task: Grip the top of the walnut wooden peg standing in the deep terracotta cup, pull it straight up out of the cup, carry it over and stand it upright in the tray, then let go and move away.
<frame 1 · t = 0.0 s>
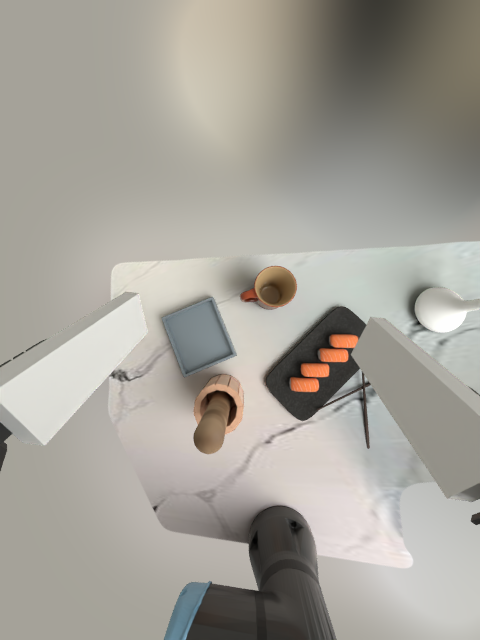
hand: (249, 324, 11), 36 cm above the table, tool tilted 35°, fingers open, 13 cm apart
tray: (200, 336, 46), on the table
peg: (223, 396, 44), point 1 cm above the table, touching cup
mug: (262, 298, 47), on the table
sushi plate: (341, 383, 45), on the table
cup: (223, 394, 45), on the table
flower in vase: (430, 307, 46), on the table
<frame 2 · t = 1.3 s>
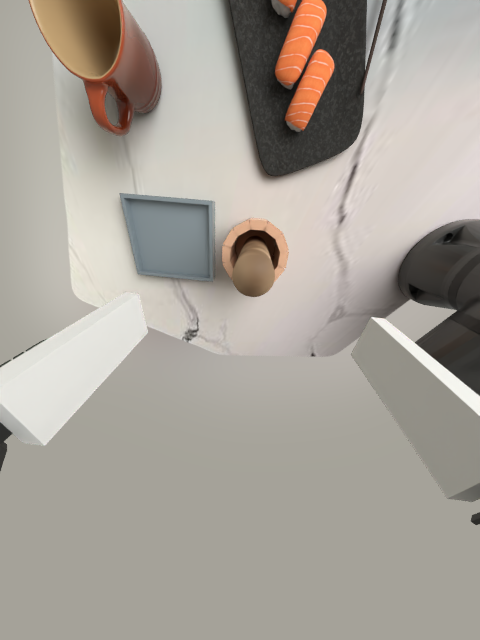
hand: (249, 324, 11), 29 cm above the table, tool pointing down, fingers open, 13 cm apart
tray: (175, 240, 35), on the table
peg: (255, 248, 34), point 1 cm above the table, touching cup
mug: (140, 97, 26), on the table
cup: (255, 247, 35), on the table
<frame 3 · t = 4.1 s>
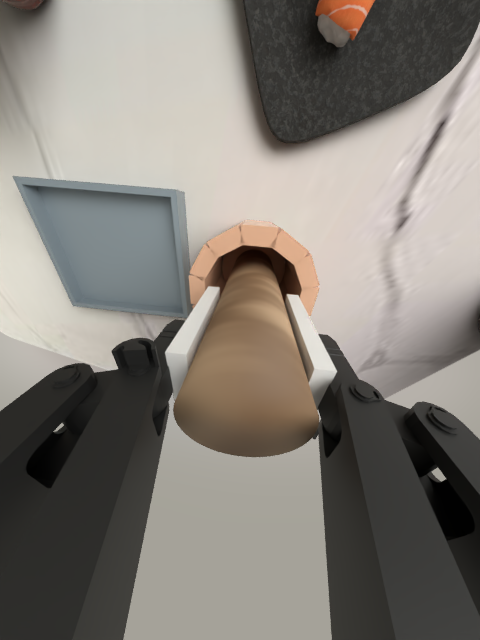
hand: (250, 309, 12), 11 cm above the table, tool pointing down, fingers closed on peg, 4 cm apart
tray: (126, 255, 22), on the table
peg: (253, 269, 21), point 1 cm above the table, touching cup, gripper
cup: (253, 267, 22), on the table
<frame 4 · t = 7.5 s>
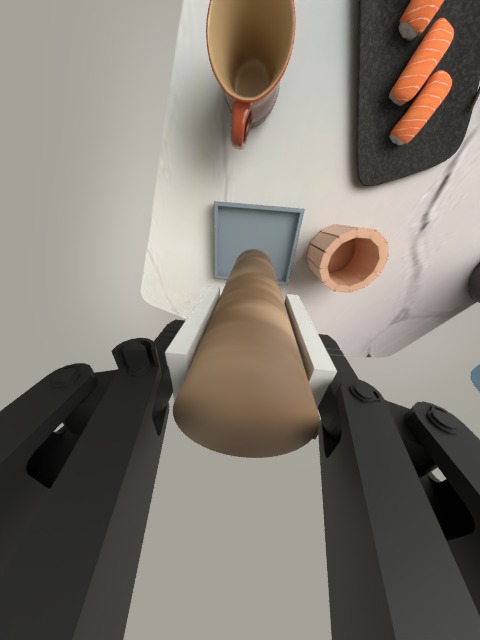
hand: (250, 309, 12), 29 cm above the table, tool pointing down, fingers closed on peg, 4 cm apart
tray: (254, 245, 37), on the table
peg: (253, 269, 21), point 19 cm above the table, touching gripper
mug: (249, 111, 27), on the table
cup: (332, 252, 36), on the table
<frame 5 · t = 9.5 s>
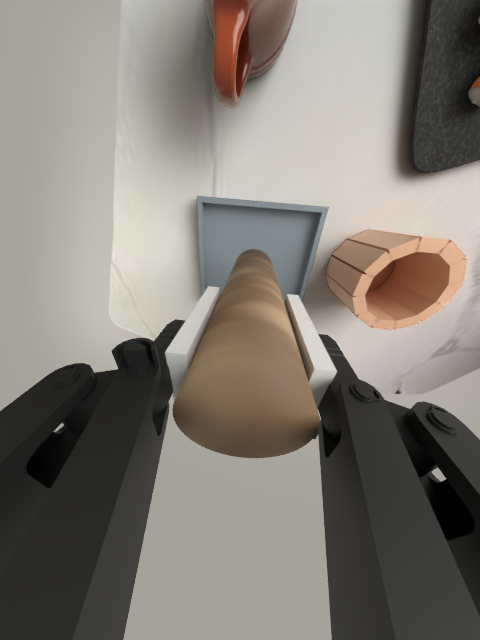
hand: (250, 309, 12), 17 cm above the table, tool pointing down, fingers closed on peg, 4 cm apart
tray: (255, 257, 27), on the table
peg: (253, 269, 21), point 7 cm above the table, touching gripper
mug: (247, 53, 17), on the table
cup: (362, 267, 26), on the table
when the fingers open (12 cm above the table, at t = 11.3 s): peg drops 1 cm, resting on tray.
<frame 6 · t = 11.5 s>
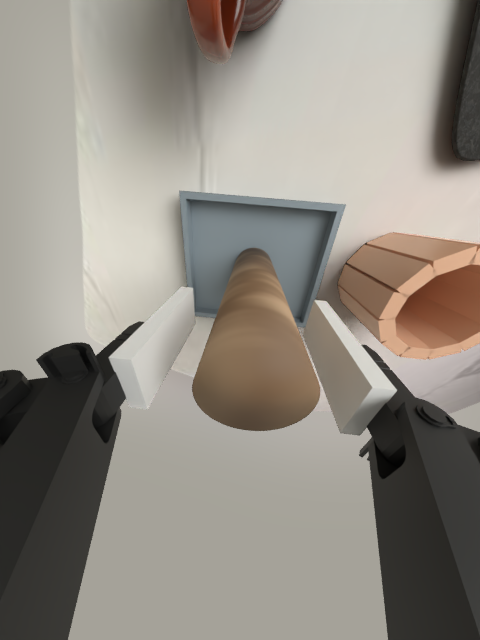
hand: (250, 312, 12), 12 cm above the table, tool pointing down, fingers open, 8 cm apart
tray: (253, 265, 22), on the table
peg: (253, 267, 22), point 1 cm above the table, touching tray
cup: (381, 277, 22), on the table
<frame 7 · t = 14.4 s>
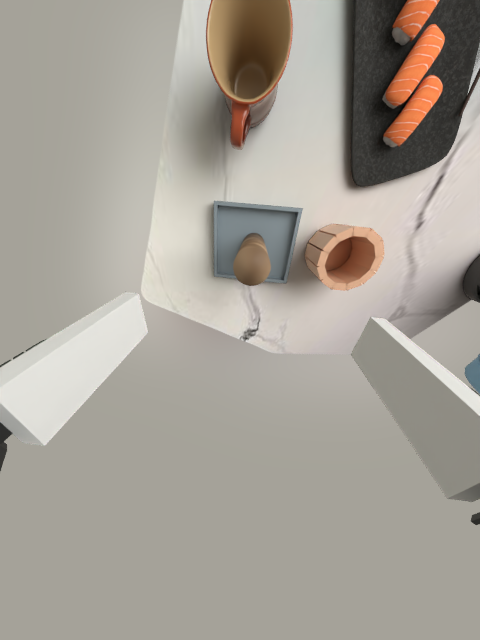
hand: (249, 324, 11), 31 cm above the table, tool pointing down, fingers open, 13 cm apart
tray: (253, 244, 37), on the table
peg: (253, 244, 37), point 1 cm above the table, touching tray
mug: (248, 112, 28), on the table
sushi plate: (475, 18, 22), on the table
cup: (330, 251, 37), on the table
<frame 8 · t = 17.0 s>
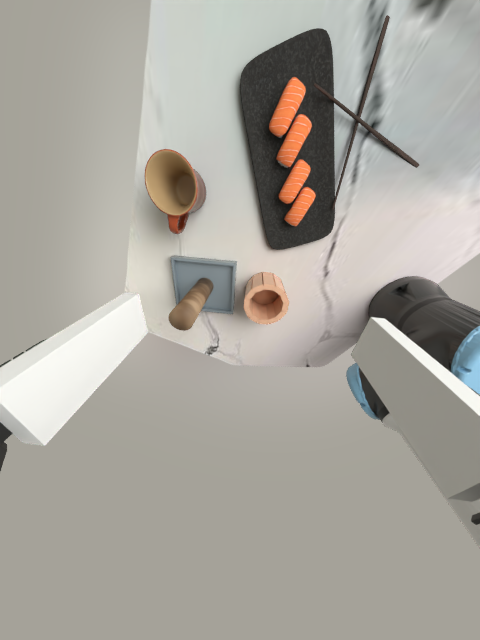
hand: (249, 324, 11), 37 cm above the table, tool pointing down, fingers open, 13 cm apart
tray: (206, 284, 48), on the table
peg: (205, 285, 48), point 1 cm above the table, touching tray
mug: (190, 200, 39), on the table
sushi plate: (333, 152, 34), on the table
cup: (264, 290, 48), on the table
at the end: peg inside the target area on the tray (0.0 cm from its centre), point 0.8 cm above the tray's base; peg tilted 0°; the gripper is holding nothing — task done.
